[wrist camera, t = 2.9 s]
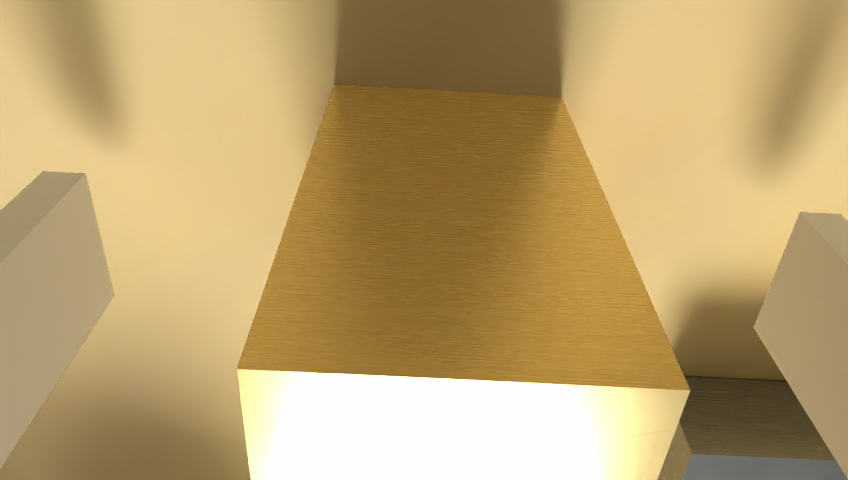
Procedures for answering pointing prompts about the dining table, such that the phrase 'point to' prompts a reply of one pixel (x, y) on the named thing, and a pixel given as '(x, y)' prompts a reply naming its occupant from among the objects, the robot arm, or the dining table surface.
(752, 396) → the square hole plate
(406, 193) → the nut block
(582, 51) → the dining table surface
